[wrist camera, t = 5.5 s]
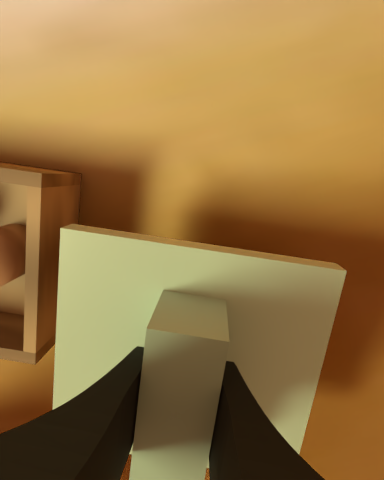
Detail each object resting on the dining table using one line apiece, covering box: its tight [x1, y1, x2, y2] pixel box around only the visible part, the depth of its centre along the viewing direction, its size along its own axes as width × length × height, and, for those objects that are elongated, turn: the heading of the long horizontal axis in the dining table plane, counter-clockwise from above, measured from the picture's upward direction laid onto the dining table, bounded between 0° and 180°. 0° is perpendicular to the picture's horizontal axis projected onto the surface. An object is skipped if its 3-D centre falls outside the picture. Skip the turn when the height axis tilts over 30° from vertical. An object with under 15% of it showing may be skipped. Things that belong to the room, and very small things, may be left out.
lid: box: [53, 224, 347, 480], centre depth 12 cm, size 10×11×5 cm
